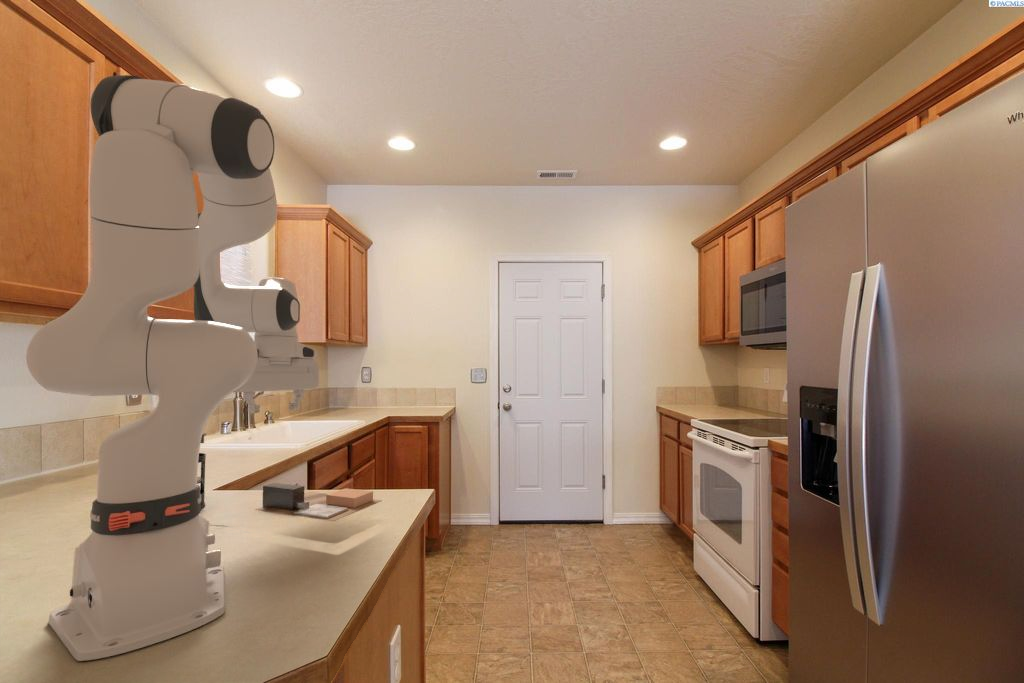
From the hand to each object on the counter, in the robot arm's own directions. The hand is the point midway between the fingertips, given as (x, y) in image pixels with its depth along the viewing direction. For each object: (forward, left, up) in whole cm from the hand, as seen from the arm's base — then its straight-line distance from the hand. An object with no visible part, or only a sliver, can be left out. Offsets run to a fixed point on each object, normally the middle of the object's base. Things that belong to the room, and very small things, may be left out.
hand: (274, 411), depth 101 cm
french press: (+19, +14, -23) cm, 33 cm away
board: (-7, -8, -22) cm, 25 cm away
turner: (-8, -4, -21) cm, 23 cm away
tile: (-7, -11, -20) cm, 24 cm away
